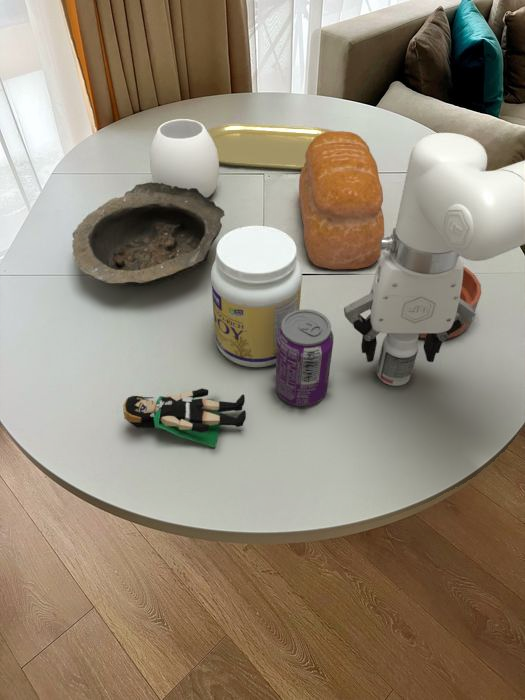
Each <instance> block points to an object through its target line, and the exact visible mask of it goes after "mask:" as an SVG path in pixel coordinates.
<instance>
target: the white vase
mask: <svg viewBox="0 0 525 700" xmlns="http://www.w3.org/2000/svg"><path fill="white" fill-rule="evenodd" d="M207 130H208V129H207V128H206V127H205V125H204V124H203V123H202V122H199V121H197V120H194V119H189V118H177V119H171V120H168V121H165V122H163V123H162V124H161V125H159V126H158V127H157V130H156V133H155V135H154V137H153V140H152V143H151V147H150V150H149V168H150V175H151V180H152V183H159V184H161V183H163V184H166V185H170V186H172V187H174V186H177V187H178V188H187V189H188V190H189V189H191V188H196V189H198V191H199V193H201V194H202V195H203V196H204V197H208V198H209V197H210V196H211V195H212V194H213V193H215V191H216V188H217V187H218V183H219V180H220V179H219V178H220V164H219V159H218V153H217V148H216V146H215V144H214V142H213V140H212V138H211V136H210V135H209V133H208V132H207Z"/></svg>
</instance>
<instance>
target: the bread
mask: <svg viewBox="0 0 525 700" xmlns="http://www.w3.org/2000/svg"><path fill="white" fill-rule="evenodd" d="M332 131H333V132H325V133H322V134H321V135H319V136H317V137H316V138H315V139H314V140H313V141H312V142H311V143H310V145H309V146H308V148H307V151H306V154H305V158H306V162H305V164H304V166H303V168H302V170H300V174H299V178H298V198H299V199H298V200H299V205H300V212H301V220H302V223H303V227H304V228H303V240H304V245H305V249H306V253H307V257H308V258H309V260H310V262H312V263H313V264H314V265H315V266H317V267H319V268H324V269H329V270H358V269H363V268H368V267H370V266H372V265H373V264H374V263H376V262H377V261H378V260H379V259H380V257H381V254H382V250H380V239H381V238H385V218H384V212H383V209H382V206H383V202H384V192H383V185H382V183H381V180H380V175H379V170H378V168H379V167H378V165H377V162H376V161H377V160H376V159H375V158H374V156H373V154H372V153H371V150H370V147H369V145H368V144H367V142H366V141H365V140H364V139H363V138H362V137H361V136H360V135H359V134H357V133H355V132H352V131H346V130H345V131H344V130H339V131H338V130H337V131H335V130H332Z"/></svg>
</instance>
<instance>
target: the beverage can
mask: <svg viewBox="0 0 525 700" xmlns="http://www.w3.org/2000/svg"><path fill="white" fill-rule="evenodd" d="M333 348H334V333H333V330H332V324H331V321H330V320H329V318H328V317H327V316H326V315H324V314H323V313H321V312H319V311H316V310H313V309H307V308H306V309H305V308H303V309H302V308H301V309H299V310H296V311H293V312H291V313H289V314H287V315H286V316H285V317H284V319H283V320H282V323H281V327H280V328H279V330H278V333H277V352H276V363H275V381H274V382H275V385H274V386H275V391H276V392H277V395H278V396H279V397H280V398H281V399H282V400H283V401H285V402H286V403H289V404H290V405H294V406H299V407H305V406H311V405H312V406H313V405H315V404H316V403H319V402H320V401H321V400H322V399H323V398H324V397H325V396H326V394H327V393H328V384H329V379H330V378H329V377H330V370H331V362H332V356H333Z"/></svg>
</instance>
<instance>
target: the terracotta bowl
mask: <svg viewBox="0 0 525 700" xmlns="http://www.w3.org/2000/svg"><path fill="white" fill-rule="evenodd" d="M481 296H482V284H481V282H480V281H479V279H478V278H477V275H476V274H475V273H473V272H472V271H471V270H470V269H469V268H468V267H465V266H464V270H463V281H462V287H461V293H460V299H462V300H463V301H465V302H466V303H467V304H469V305H470V306H472V307H473V310H474V312H475V313H476V309H477V307H478V305H479V302H480V299H481ZM456 313H457V312H456ZM472 321H473V318H472V319H470V320H469V321H467V322H466V323H465V324H464V323H463V324H462V326H461V328H460V329H458V330H456V331H454V332H453V333H451V334H449V335H448V338H447V340H448V339H451V338H454V337H457V336H459V335H461V334H462V333H464V332H465V331H466V330H467V329H468V328H469V327H470V324H471V322H472ZM426 335H427V333H419V336H418V338H422V339H425V338H426Z"/></svg>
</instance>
